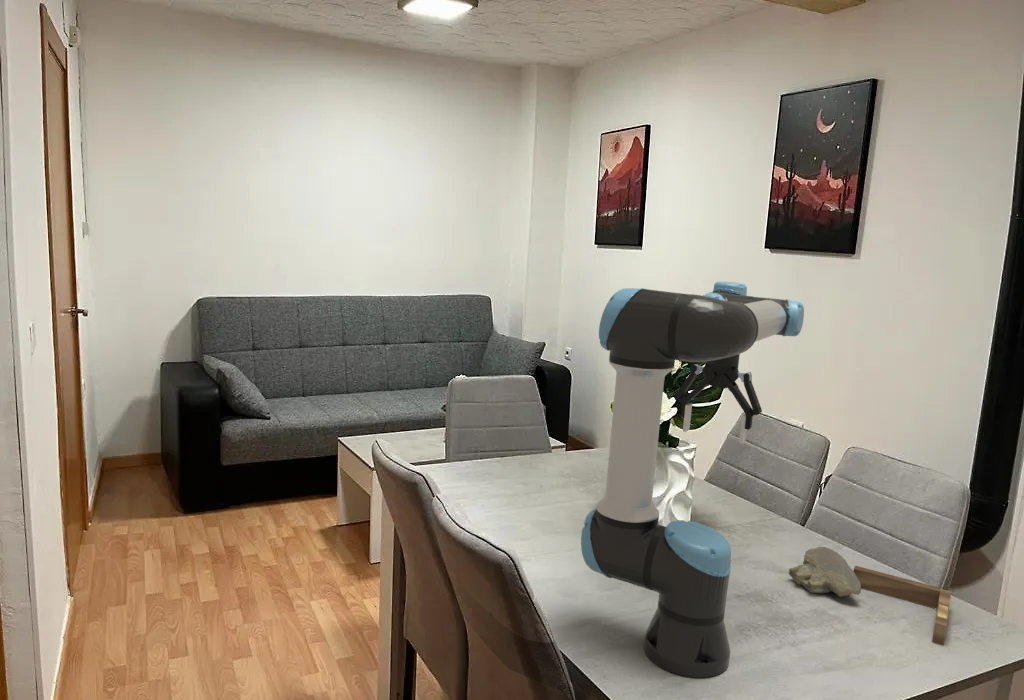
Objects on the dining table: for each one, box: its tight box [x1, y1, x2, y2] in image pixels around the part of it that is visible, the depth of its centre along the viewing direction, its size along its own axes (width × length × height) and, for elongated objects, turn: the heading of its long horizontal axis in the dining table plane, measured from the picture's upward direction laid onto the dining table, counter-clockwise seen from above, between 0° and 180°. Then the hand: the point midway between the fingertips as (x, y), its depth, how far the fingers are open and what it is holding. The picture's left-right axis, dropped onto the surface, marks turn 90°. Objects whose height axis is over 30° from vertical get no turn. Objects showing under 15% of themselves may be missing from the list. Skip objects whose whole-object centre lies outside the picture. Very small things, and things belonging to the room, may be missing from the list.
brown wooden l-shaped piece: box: [853, 565, 952, 646], centre depth 161 cm, size 18×19×4 cm
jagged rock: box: [788, 546, 862, 598], centre depth 168 cm, size 14×10×10 cm
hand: (713, 436), depth 183 cm, fingers open, 13 cm apart
